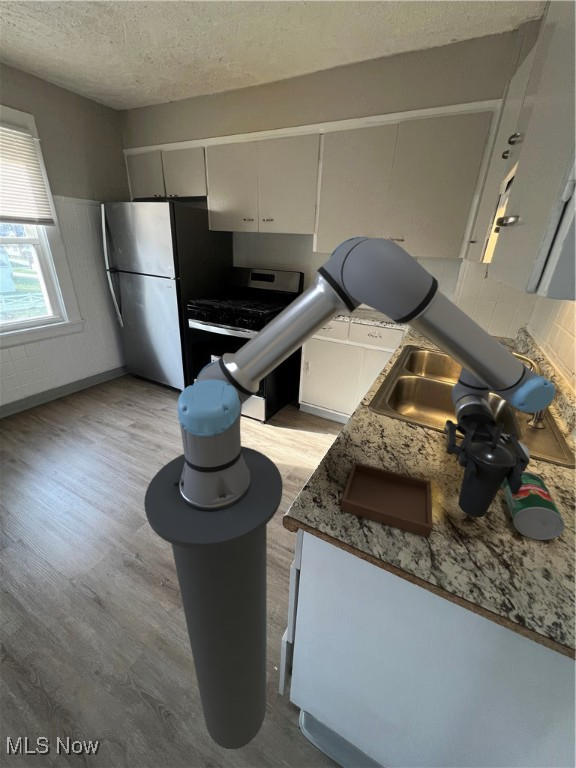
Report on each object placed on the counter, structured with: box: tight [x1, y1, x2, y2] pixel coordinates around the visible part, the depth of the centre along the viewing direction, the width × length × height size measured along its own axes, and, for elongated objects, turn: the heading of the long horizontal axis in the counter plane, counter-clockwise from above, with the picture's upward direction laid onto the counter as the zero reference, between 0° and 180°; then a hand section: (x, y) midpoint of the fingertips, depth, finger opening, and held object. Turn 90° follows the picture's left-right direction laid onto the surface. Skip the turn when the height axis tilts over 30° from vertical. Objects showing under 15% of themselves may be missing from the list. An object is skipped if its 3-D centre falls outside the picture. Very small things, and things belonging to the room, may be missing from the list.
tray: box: [340, 461, 433, 539], centre depth 69 cm, size 18×14×3 cm
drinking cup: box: [457, 421, 516, 519], centre depth 58 cm, size 8×8×20 cm
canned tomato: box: [501, 471, 566, 541], centre depth 64 cm, size 8×8×11 cm
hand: (494, 482), depth 54 cm, fingers closed on drinking cup, 6 cm apart
